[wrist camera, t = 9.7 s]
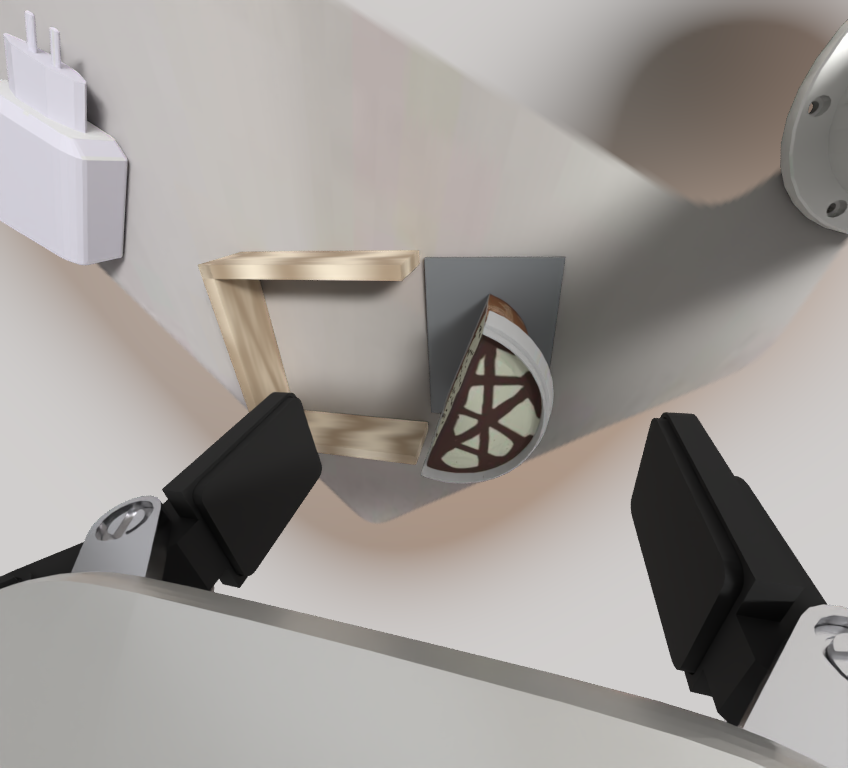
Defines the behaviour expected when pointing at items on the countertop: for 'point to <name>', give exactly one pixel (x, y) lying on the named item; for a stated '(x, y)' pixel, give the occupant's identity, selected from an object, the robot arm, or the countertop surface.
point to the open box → (259, 355)
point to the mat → (466, 297)
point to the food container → (492, 402)
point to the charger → (57, 157)
